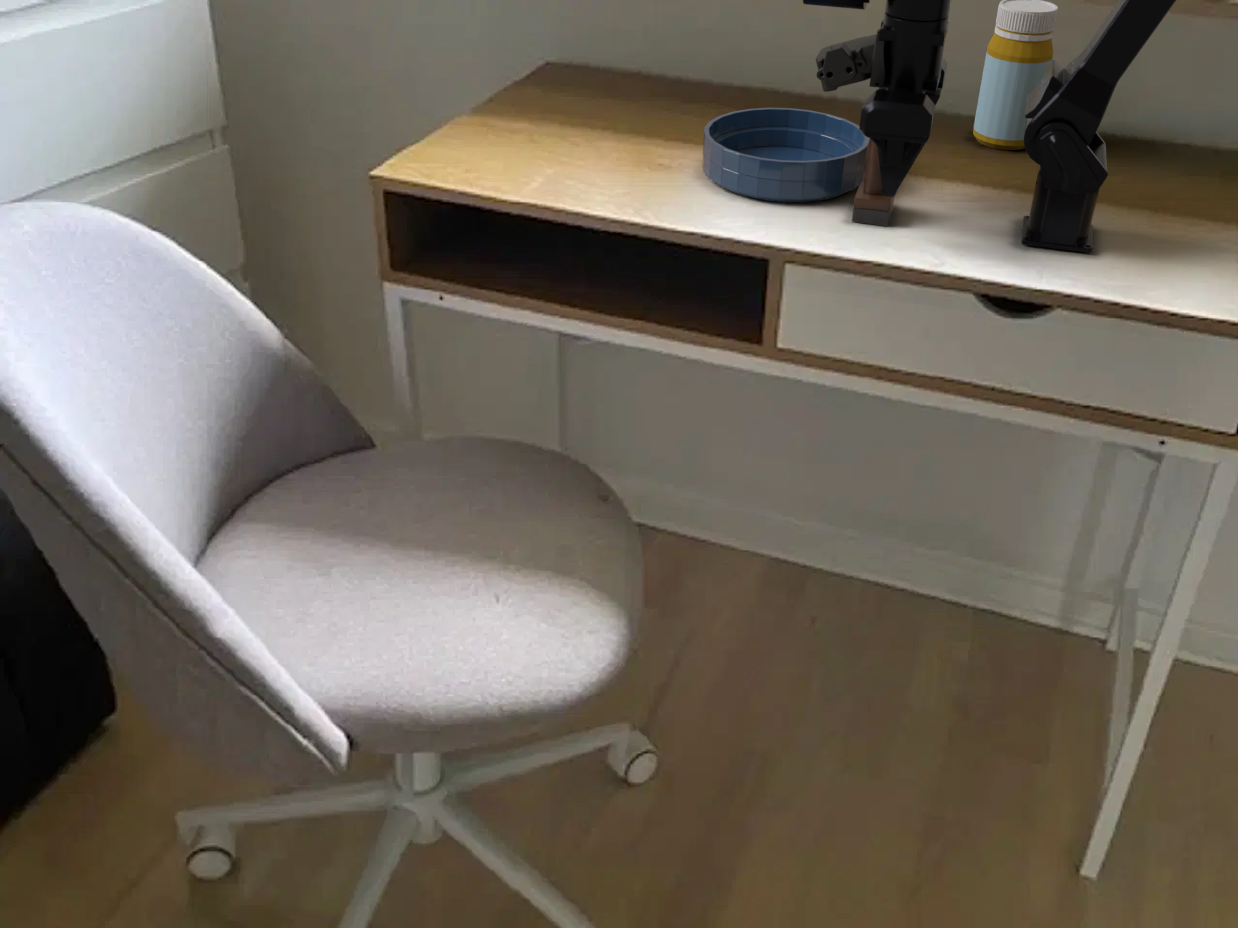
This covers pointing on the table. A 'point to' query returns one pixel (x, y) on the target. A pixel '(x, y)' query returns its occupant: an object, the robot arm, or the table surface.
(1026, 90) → the bottle
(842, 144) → the bowl
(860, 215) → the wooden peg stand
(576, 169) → the table surface
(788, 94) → the table surface
